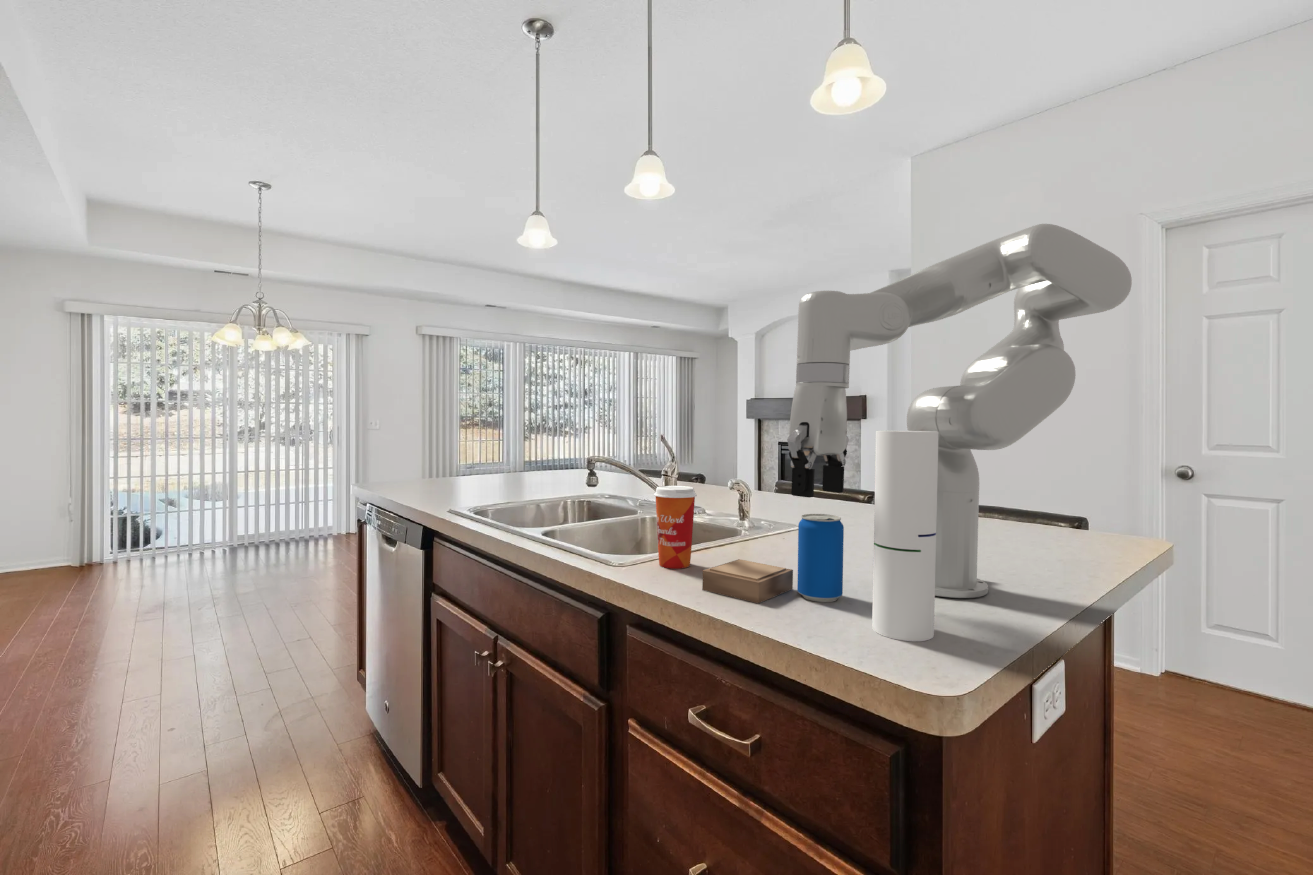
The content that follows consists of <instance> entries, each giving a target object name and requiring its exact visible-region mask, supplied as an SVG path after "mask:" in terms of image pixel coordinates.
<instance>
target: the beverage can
mask: <svg viewBox="0 0 1313 875" xmlns="http://www.w3.org/2000/svg"><path fill="white" fill-rule="evenodd" d="M841 520H842V518H841V517H840V516H839V515H835V514H827V513H826V514H825V513H805V514H802V515H801V520H800V521H799V522H798V529H797V530H798V533H797V535H798V538H797V592H798V594H800V595H801V597H803V598H804V599H806V600H808V601H811V602H812V601H813V602H819V603H831V602H835V601H837V600H838V598H841V597H842V596H843V591H844V590H843V588H844V587H843V586H844V585H843V583H844V537H845V536H844V532H845V531H844V530H845V529H844V528H845V527H844V524H843V522H842V521H841Z"/></svg>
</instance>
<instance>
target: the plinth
mask: <svg viewBox="0 0 1313 875" xmlns="http://www.w3.org/2000/svg"><path fill="white" fill-rule="evenodd" d="M701 583H702V584H701V585H702V587H701V588H702V591H705V592H709V593H714V594H717V595H718V594H719V595H723V596H726V597H730V598H733V599H738V600H744V601H747V602H750V603H754V604H761V603H762V602H765V601H767V600H770V599H773V598H774V597H777V596H779V595H782V594H783V593H784V594H785V593H786V592H789V591H792V590H793V588H794V587H793V585H794V569H791V568H790V569H789V568H786V567H781V566H775V565H772V564H766V563H760V562H757V561H756V562H755V561H750V560H744V559H736V560H731V561H729V562H725V563H722V564H720V565H715V566H713V567H709V568H706V569H703V570H702V582H701Z"/></svg>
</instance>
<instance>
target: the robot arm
mask: <svg viewBox="0 0 1313 875" xmlns="http://www.w3.org/2000/svg"><path fill="white" fill-rule="evenodd" d="M1132 280H1133V279H1132V275H1131V271H1130V270H1129V267H1128V266H1127V265H1126V262H1124V261H1123V260H1122V259H1121V258H1120V257H1119V256H1117V255H1116V254H1115V253H1113V252H1112V251H1110V250H1108V249H1106V248H1104V247H1102V246H1100V245H1099V244H1097V243H1095V242H1093V241H1091V240H1090V239H1088V238H1086V237H1085V236H1083V235H1081V234H1078V233H1076V232H1074V231H1072V230H1070V229H1068V228H1065V227H1063V226H1059V225H1056V224H1052V223H1039V224H1034V225H1032V226H1029V227H1027V228H1026V227H1025V228H1023V229H1021V230H1018V231H1015V232H1013V233H1010V234H1007V235H1004V236H1002V237H998V238H996V239H994V240H990V241H988V242H986V243H983V244H980V245H979V246H976V247H973V248H971V249H969V250H966V251H964V252H961V253H959V254H956V255H954V256H951V257H949V258H947V259H944V260H941V261H939V262H936V263H934V264H931V265H929V266H928V267H925V268H923V269H920V270H918V271H916V272H914V273H912V274H910V275H908V276H905V277H904V278H902V279H900V280H897V281H895V282H893V283H890V284H888V285H886V286H883V287H881V288H878V289H875V290H874V291H871V292H867V293H866V292H865V293H846V292H842V291H838V290H816V291H812V292H808V293H806V294H805V295H803V296H802V297H801V298H800V300H799V302H798V312H797V313H798V318H797V319H798V320H797V340H796V341H797V345H796V346H797V347H796V369H795V370H796V372H795V373H796V376H795V387H794V393H793V396H792V403H791V409H790V410H791V411H790V418H789V419H790V420H789V429H788V437H787V444H788V451H789V452H788V455H789V458H790V467H791V468H792V469H791V492H790V493H791V496H793V497H801V498H813V497H814V495H815V494H814V493H815V469H814V468H812V467H813V465H814V462H815V460H816V459H817V456H823V459H824V462H825V464H824V465H823V466H822V490H823V491H824V492H830V493H839V494H840V493H843V492H844V491H845V490H844V489H845V488H844V486H845V485H844V484H845V466H846V463H847V462H846V456H847V454H848V449H847V448H848V445H849V440H850V439H849V436H848V408H847V406H848V405H847V404H848V403H847V392H846V389H849V387H850V368H851V366H850V363H851V360H850V359H851V352H852V351H856V350H861V349H866V348H871V347H877V346H884V345H887V344H890V343H892V342H895V341H897V340H898V339H899V338H901V337H902V336H903V335H905V333H906V332H907V331H908V329H909V328H911V327H915V326H919V325H924V324H930V323H934V322H937V321H940V320H944V319H948V318H950V317H953V316H956V315H958V314H960V313H963V312H965V311H968V310H969V309H971V308H974V307H975V306H978V305H980V304H982V303H985V302H988V301H990V300H993V299H995V298H997V297H999V296H1002V295H1004V294H1006V293H1010V292H1012V291H1015V290H1017V291H1016V292H1015V295H1014V301H1013V310H1014V311H1013V315H1014V316H1013V317H1014V319H1013V320H1014V322H1013V328H1012V331H1011V332H1010V333H1008V334H1007V335H1006V336H1005V337H1004V338H1002V339H1001V340H1000V341H999V342H997V343H996V344H994V345H993V346H992V347H991V348H989V349H988V350H987V351H985V352H984V353H982V354H981V355H979V356H978V357H977V358H976V359H974V361H972V362H971V363H970V364H969V365H968V366H967V367H966V368H965V370H964V372H963V373H962V376H961V378H960V385H949V386H937V387H933V388H930V389H927V390H924V391H922V392H921V393H919V394H918V395H917V396H915V398H913V400H912V401H911V403H910V404H909V407H908V409H907V414H906V428H907V430H906V431H937V432H938V477H937V519H936V563H935V597H942V598H952V599H972V598H975V599H976V598H981V597H983V596H986V595H987V594H988V592H989V585H988V584H987V582H986V581H984V580H982V579H980V578H978V550H979V549H978V547H979V513H980V512H979V510H980V507H979V506H980V504H979V503H980V472H979V468H978V465H977V462H976V459H975V457H974V455H973V453H972V450H977V451H996V450H1003V449H1005V448H1007V447H1009V446H1011V445H1013V444H1015V443H1017V442H1018V441H1020V440H1021V439H1022V438H1023V437H1025V436H1026V435H1027V434H1028V433H1029V432H1031V431H1032V430H1033V429H1035V428H1036V427H1037V426H1039V424H1041V423H1042V422H1044V420H1045V419H1047V418H1048V417H1050V416H1051V415H1052V414H1053V413H1054V412H1056V411H1057V410H1058V409H1059V408H1060V407H1061V406H1063V405H1064V403H1065V402H1066V401H1067V400H1068V398H1069V397H1070V395H1071V393H1072V392H1073V388H1074V386H1075V384H1076V382H1075V381H1076V366H1075V364H1074V361H1073V359H1072V357H1071V356H1070V355H1069V353H1068V352H1066V351H1065V344H1064V341H1063V338H1062V336H1061V331H1060V325H1059V322H1060V320H1066V319H1071V318H1077V317H1082V316H1088V315H1093V314H1099V313H1104V312H1107V311H1111V310H1112V309H1115V308H1116V307H1118V306H1120V305H1121V304H1122V303H1123V302H1124V301H1125V300H1126V299H1127V298H1128V296H1129V295H1130V292H1131V290H1132V289H1131V288H1132V283H1133V282H1132ZM806 456H807V457H806Z"/></svg>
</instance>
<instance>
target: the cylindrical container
mask: <svg viewBox="0 0 1313 875" xmlns="http://www.w3.org/2000/svg"><path fill="white" fill-rule="evenodd" d="M874 461H875V466H874V468H875V469H874V509H873V510H874V514H873V516H874V518H873V519H874V520H873V526H874V527H873V560H872V561H873V564H872V565H873V566H872V569H873V570H872V608H871V609H872V612H871V613H872V614H871V616H872V620H871V625H872V626H871V628H872V630H873V631H874V632H875V633H877V634H879V635H881V636H884V637H886V638H889V639H894V640H898V641H904V642H924V641H929V640H932V639H933V638H934V636H935V600H936V599H935V597H936V596H935V563H936V519H937V477H938V432H937V431H908V430H875V460H874Z"/></svg>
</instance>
